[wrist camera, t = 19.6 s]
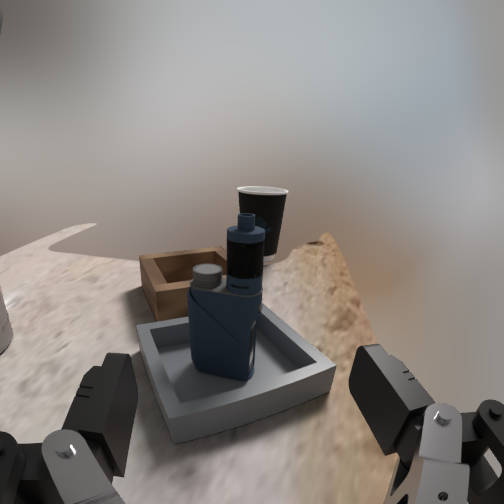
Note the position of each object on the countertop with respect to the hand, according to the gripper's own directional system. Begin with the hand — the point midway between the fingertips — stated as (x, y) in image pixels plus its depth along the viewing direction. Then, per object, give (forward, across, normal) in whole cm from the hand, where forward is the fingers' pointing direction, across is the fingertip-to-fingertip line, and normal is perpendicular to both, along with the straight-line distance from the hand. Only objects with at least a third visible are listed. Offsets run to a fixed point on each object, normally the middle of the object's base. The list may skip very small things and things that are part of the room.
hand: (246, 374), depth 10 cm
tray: (+11, 0, +9) cm, 14 cm away
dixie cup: (+39, -7, +10) cm, 41 cm away
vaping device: (+11, 0, +9) cm, 14 cm away
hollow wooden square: (+25, +3, +9) cm, 27 cm away
